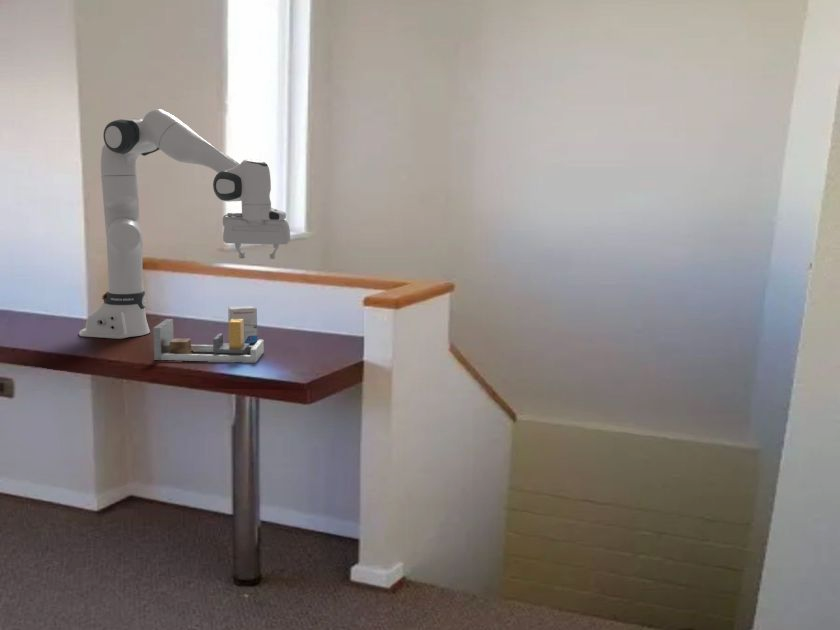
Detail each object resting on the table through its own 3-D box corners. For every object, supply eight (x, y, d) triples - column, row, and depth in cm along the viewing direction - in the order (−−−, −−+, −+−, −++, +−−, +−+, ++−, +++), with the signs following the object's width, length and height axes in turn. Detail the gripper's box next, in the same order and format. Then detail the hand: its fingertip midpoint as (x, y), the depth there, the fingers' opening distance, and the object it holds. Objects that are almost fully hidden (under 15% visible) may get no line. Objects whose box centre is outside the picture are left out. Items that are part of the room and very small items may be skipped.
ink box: (254, 340, 295) (254, 305, 293) (257, 343, 290) (257, 307, 288) (228, 341, 292) (227, 306, 289) (231, 345, 287) (230, 309, 285)
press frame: (154, 360, 264) (153, 327, 262) (167, 350, 278) (166, 318, 276) (255, 362, 264) (255, 329, 263) (263, 352, 278) (263, 320, 276)
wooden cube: (170, 358, 269) (169, 341, 268) (175, 354, 274) (174, 338, 273) (186, 358, 269) (186, 342, 268) (191, 354, 274) (190, 338, 273)
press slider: (213, 359, 267) (212, 323, 265) (219, 352, 276) (218, 317, 274) (243, 359, 267) (243, 323, 265) (249, 352, 276) (248, 317, 274)
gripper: (220, 213, 269) (221, 259, 272) (288, 214, 269) (288, 260, 272) (224, 212, 275) (225, 256, 278) (290, 213, 275) (291, 257, 278)
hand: (257, 258), depth 275 cm, fingers open, 8 cm apart
